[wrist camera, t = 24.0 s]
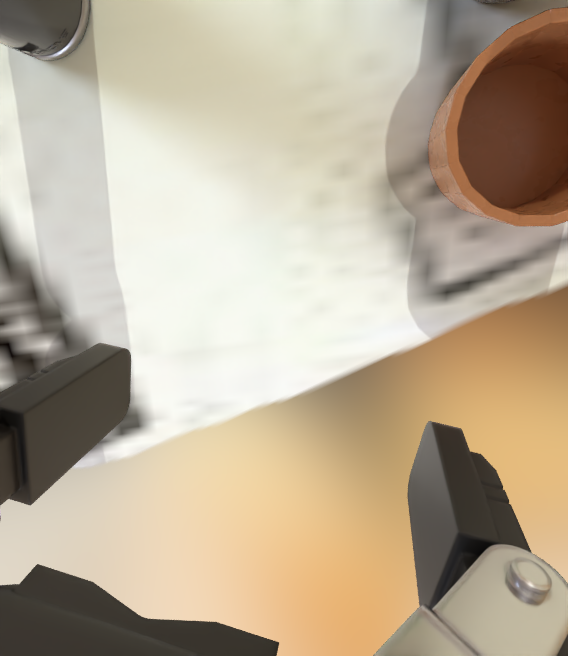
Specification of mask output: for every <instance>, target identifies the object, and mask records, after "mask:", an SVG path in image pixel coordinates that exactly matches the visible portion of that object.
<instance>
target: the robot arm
mask: <svg viewBox="0 0 568 656" xmlns="http://www.w3.org/2000/svg"><path fill="white" fill-rule="evenodd" d="M89 10H90V1H89V0H0V44H1V43H2V44H5V46H6V45H7V46H8V47H9V46H10V48H11V47H13V48H15V50H16V49H18V50H20V52H21V51H22V53H25V54H27V55H30V56H32V57H35V58H37V59H42V61H43V60H57V59H60V58H63V57H65V56H67V55H68V54H69V53H71V52H72V51H73V50H74V49H75V48H76V47H77V46H78V44H79V43H80V41H81V39H82V38H83V36H84V33H85V31H86V28H87V24H88V19H89ZM18 50H17V51H18ZM130 381H131V355H130V352H129V350H128V349H125V348H120V347H116V346H112V345H108V344H104V343H99V344H97V345H95V346H93V347H91V348H90V349H88V350H86V351H84V352H83V353H81V354H79V355H77V356H74V357H70V358H67V359H63V360H60V361H57V362H55V363H53V364H51V365H49V366H48V367H46V368H44V369H42V370H41V372H37V373H35V374H33V375H31V376H29V377H28V379H27V380H26V379H24V380H22V381H20V382H18V383H17V384H15V385H13V386H11V387H9V388H8V389H6V390H4V391H2V392H0V505H1V504H3V503H4V502H5V501H6V500H7V499H12V500H14V501H18V502H21V503H24V504H28V505H31V504H33V503H34V502H35V501H36V500H37V499H38V498H39V497H40V496H41V495H42V494H43V493H44V492H45V491H47V490H48V489H49V488H50V487H51V486H52V485H53V484H54V483H55V482H56V481H57V480H58V479H60V478H61V477H62V476H63V475H64V474H65V473H66V472H67V471H68V470H69V469H70V468H71V467H72V466H74V465H75V464H76V463H77V462H78V461H79V460H80V459H81V458H82V457H83V456H84V455H85V454H86V453H88V452H89V451H90V450H91V449H92V448H93V447H94V446H95V445H96V444H97V443H98V442H99V441H100V440H102V439H103V438H104V437H105V436H106V435H107V434H108V433H109V432H110V431H111V430H112V429H113V428H114V427H116V426H117V425H118V424H119V423H120V422H121V421H122V419H123V418H124V416H125V415H126V413H127V410H128V407H129V403H130ZM408 505H409V514H410V523H411V532H412V541H413V550H414V560H415V569H416V578H417V587H418V596H419V605H420V607H419V608H418V609H417V610H416V611H415V612H414V613H413V614H412V615H411V616H410V617H409V618H408V619H407V620H406V621H405V622H404V623H403V624H402V625H401V627H400V628H399V629H398V630H397V631H396V632H395V633H394V634H393V635H392V636H391V637H390V638H389V639H388V640H387V641H386V642H385V644H383V646H382V647H381V648H380V649H379V650H378V651H377V652H376V653H375V654H374V655H373V656H568V583H567V582H566V581H565V580H564V579H563V577H562V576H561V575H560V574H559V573H558V572H557V571H556V570H555V569H553V568H552V567H551V566H550V565H549V564H548V563H546V562H545V561H544V560H542V559H541V558H539V557H537V556H536V555H534V554H532V553H531V550H530V548H529V546H528V543H527V541H526V539H525V536H524V534H523V532H522V530H521V527H520V525H519V522H518V520H517V518H516V515H515V513H514V511H513V509H512V506H511V505H510V504H509V499H508V497H507V495H506V492H505V490H503V485H502V483H501V481H500V478H499V476H498V474H497V472H496V470H495V469H494V468H493V467H492V466H491V465H490V463H489V462H488V461H487V460H486V459H485V458H484V457H483V456H482V455H481V454H478V453H474V452H470V451H469V448H468V445H467V442H466V440H465V437H464V434H463V431H462V429H461V428H457V427H453V426H448V425H444V424H440V423H436V422H431V421H429V422H428V423H427V425H426V427H425V429H424V432H423V435H422V439H421V442H420V445H419V448H418V451H417V454H416V457H415V460H414V464H413V467H412V470H411V474H410V478H409V484H408ZM0 519H1V511H0ZM278 646H279V642H276V641H273V640H270V639H267V638H264V637H260V636H257V635H254V634H251V633H248V632H245V631H242V630H239V629H236V628H233V627H230V626H226V625H224V624H220V623H217V622H204V621H182V620H160V619H159V620H158V619H147V618H144V617H141V616H140V615H138V614H136V613H135V612H134V611H132V610H131V609H129V608H128V607H127V606H125V605H124V604H123V603H121V602H120V601H118V600H117V599H116V598H114V597H113V596H111V595H110V594H109V593H107V592H106V591H105V590H103V589H102V588H100V587H99V586H97V585H96V584H95V583H93V582H91V581H88V580H85V579H81V578H79V577H76V576H73V575H69V574H66V573H63V572H60V571H57V570H54V569H51V568H48V567H45V566H42V565H39V564H37V565H36V566H35V567H34V568H33V569H32V571H31V572H30V573H29V574H28V575H27V576H26V577H25V579H24V580H23V581H22V582H21V583H20V584H13V585H0V656H276V655H277V651H278Z"/></svg>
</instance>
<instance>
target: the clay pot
mask: <svg viewBox="0 0 568 656" xmlns="http://www.w3.org/2000/svg"><path fill="white" fill-rule="evenodd" d="M428 157H429V164H430V170H431V172H432V175H433V178H434V180H435V182H436V184H437V186H438V187H439V189H440V191H441V192H442V193H443V194H444V195H445V196H446V197H447V198H448V199H449V200H450V201H451V202H452V203H454V204H455V205H456V206H457V207H458V208H460V209H462V210H465V211H468V212H471V213H473V214H476V215H479V216H482V217H485V218H489V219H492V220H496V221H500V222H503V223H507V224H511V225H514V226H554V225H557V224H560V223H563V222H566V221H568V7H564V8H554V9H550V10H546V11H544V12H542V13H540V14H538V15H536V16H533V17H531V18H529V19H527V20H525V21H523V22H520V23H518V24H516V25H514V26H512V27H511V28H509V29H507V30H506V31H505V32H504V33H503V34H502V35H501V36H500V37H498V38H497V39H496V40H495V41H494V42H493V43H492V44H491V45H490V46H488V47H487V48H486V49H485V50H484V51H483V52H482V53H481V54H479V55H478V57H477V58H476V59H475V60H474V61H473V63H472V64H471V65H470V66H469V68H468V69H467V70H466V71H465V73H464V74H463V75H462V76H461V78H460V79H459V80H458V81H457V83H456V84H455V85H454V86H453V88H452V89H451V90H450V92H449V93H448V95H447V97H446V98H445V100H444V101H443V103H442V105H441V106H440V108H439V110H438V111H437V113H436V115H435V117H434V121H433V124H432V128H431V131H430V136H429V141H428Z"/></svg>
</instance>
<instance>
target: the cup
mask: <svg viewBox="0 0 568 656" xmlns="http://www.w3.org/2000/svg"><path fill="white" fill-rule="evenodd" d="M476 1H479V2H484V3H497V4H498V3H506V2H510V1H514V0H476Z"/></svg>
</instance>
